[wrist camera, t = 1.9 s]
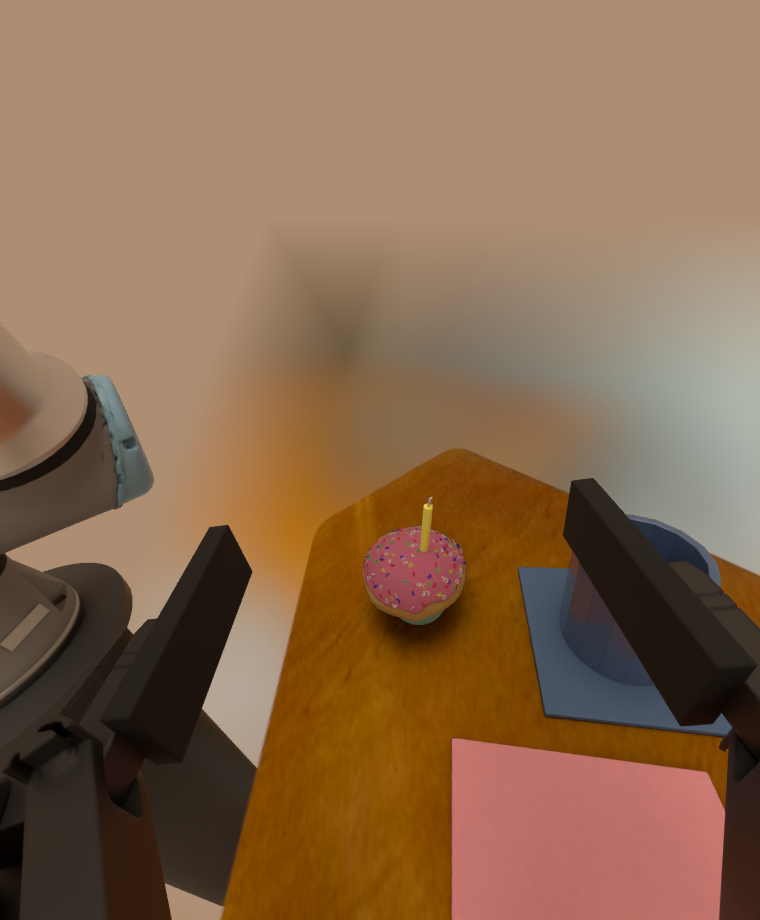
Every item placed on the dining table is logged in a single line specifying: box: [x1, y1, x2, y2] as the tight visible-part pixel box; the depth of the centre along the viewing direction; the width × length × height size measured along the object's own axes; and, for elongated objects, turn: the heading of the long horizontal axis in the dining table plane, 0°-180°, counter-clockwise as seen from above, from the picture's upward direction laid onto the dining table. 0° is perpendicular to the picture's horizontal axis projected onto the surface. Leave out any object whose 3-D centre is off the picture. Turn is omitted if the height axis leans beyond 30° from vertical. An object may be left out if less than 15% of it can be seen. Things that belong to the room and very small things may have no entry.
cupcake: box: [363, 497, 466, 625], centre depth 29 cm, size 9×8×12 cm
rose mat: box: [452, 738, 725, 920], centre depth 18 cm, size 14×10×1 cm
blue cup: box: [559, 515, 721, 686], centre depth 25 cm, size 7×7×9 cm
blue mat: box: [518, 567, 732, 737], centre depth 27 cm, size 12×12×1 cm
